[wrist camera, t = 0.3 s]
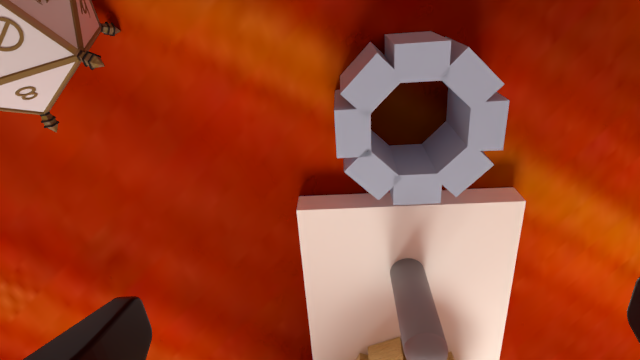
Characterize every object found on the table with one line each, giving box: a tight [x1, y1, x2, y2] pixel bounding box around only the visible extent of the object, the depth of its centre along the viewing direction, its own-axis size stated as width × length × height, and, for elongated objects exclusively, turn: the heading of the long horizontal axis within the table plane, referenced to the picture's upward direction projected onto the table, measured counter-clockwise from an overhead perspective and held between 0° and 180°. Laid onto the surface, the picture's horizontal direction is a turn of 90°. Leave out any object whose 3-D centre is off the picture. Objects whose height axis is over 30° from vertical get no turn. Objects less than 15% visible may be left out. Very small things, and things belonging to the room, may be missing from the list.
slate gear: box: [334, 31, 510, 205], centre depth 17 cm, size 7×7×4 cm
